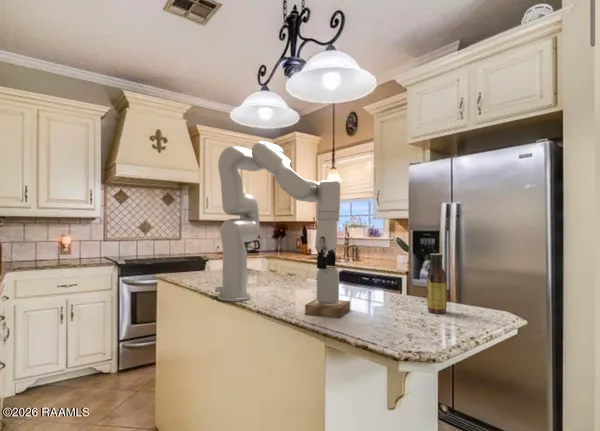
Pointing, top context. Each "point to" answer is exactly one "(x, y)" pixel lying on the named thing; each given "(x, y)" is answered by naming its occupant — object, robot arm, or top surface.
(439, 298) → the sauce bottle
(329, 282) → the can
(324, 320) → the top surface
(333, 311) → the base
